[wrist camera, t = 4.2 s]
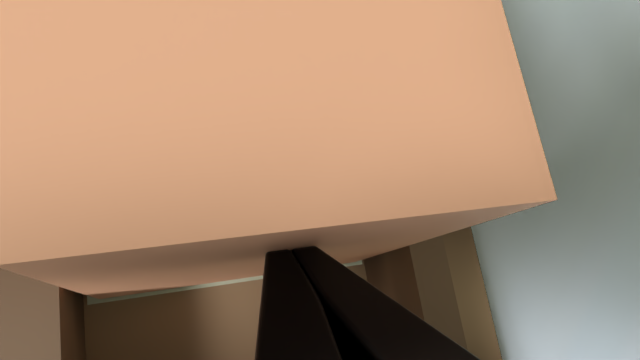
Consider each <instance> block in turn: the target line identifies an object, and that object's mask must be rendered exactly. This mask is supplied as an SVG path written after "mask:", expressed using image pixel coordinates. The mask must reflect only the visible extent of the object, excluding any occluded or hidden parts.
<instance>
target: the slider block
mask: <svg viewBox="0 0 640 360" xmlns="http://www.w3.org/2000/svg"><path fill="white" fill-rule="evenodd" d="M555 200H557V196H556V193H555V189H554V186H553V182H552V179H551V175H550V172H549V168H548V165H547V161H546V157H545V154H544V150H543V147H542V143H541V140H540V136H539V133H538V129H537V126H536V122H535V119H534V115H533V112H532V108H531V105H530V101H529V98H528V94H527V90H526V87H525V83H524V80H523V76H522V73H521V69H520V66H519V62H518V59H517V55H516V52H515V48H514V45H513V41H512V38H511V34H510V31H509V27H508V24H507V20H506V16H505V13H504V9H503V6H502V2H501V0H0V268H1V269H4V270H7V271H11V272H14V273H17V274H20V275H23V276H27V277H30V278H33V279H36V280H39V281H43V282H46V283H49V284H52V285H55V286H59V287H62V288H65V289H68V290H71V291H75V292H78V293H81V294H84V295H87V296H91V297H94V298H97V299H104V298H111V297H118V296H125V295H132V294H138V293H145V292H152V291H159V290H166V289H173V288H180V287H186V286H193V285H200V284H207V283H214V282H221V281H228V280H235V279H241V278H248V277H255V276H262V275H263V274H264V264H265V255H266V253H267V252H270V251H278V250H286V249H288V250H291V251H292V250H293V249H295V248H301V247H309V246H316V247H318V248H319V249H321V250H322V251H324V252H325V253H327V254H328V255H330V256H331V257H332V258H334V259H335V260H337V261H338V262H340V263H341V264H344V263H351V262H357V261H360V260H363V259H366V258H370V257H373V256H376V255H379V254H383V253H386V252H389V251H392V250H396V249H399V248H402V247H406V246H409V245H412V244H415V243H419V242H422V241H425V240H428V239H432V238H435V237H438V236H441V235H445V234H448V233H451V232H454V231H458V230H461V229H464V228H467V227H471V226H474V225H477V224H480V223H484V222H487V221H490V220H493V219H497V218H500V217H503V216H506V215H510V214H513V213H516V212H519V211H523V210H526V209H529V208H532V207H536V206H539V205H542V204H545V203H549V202H552V201H555Z"/></svg>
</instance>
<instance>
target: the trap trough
mask: <svg viewBox="0 0 640 360" xmlns="http://www.w3.org/2000/svg"><path fill="white" fill-rule="evenodd" d="M343 265H344V266H346V267H347V268H348V269H350V270H351V271H353V272H354V273H356V274H357V275H359V276H360V277H362V278H363V279H364V280H366V281H367V282H369V283H370V284H372V285H373V286H375V287H376V288H377V289H379V290H380V291H382V292H383V293H385V294H386V295H388V296H389V297H391V298H392V299H393V300H395V301H396V302H398V303H399V304H401V305H402V306H404V307H405V308H407V309H408V310H409V311H411V312H412V313H414V314H415V315H417V316H418V317H420V318H421V319H422V320H424V321H425V322H427V323H428V324H430V325H431V326H433V327H434V328H436V329H437V330H438V331H440V332H441V333H443V334H444V335H446V336H447V337H449V338H450V339H452V340H453V341H454V342H456V343H457V344H459V345H460V346H462V347H463V348H465V349H466V350H467V351H469V352H470V353H472V354H473V355H475V356H476V357H478V358H479V359H481V360H502V357H501V353H500V348H499V344H498V340H497V336H496V332H495V327H494V323H493V319H492V315H491V310H490V306H489V302H488V298H487V294H486V289H485V285H484V281H483V277H482V272H481V268H480V264H479V260H478V256H477V251H476V247H475V243H474V239H473V234H472V230H471V227H467V228H464V229H461V230H458V231H454V232H451V233H448V234H445V235H441V236H438V237H435V238H432V239H428V240H425V241H422V242H419V243H415V244H412V245H409V246H406V247H402V248H399V249H396V250H392V251H389V252H386V253H383V254H379V255H376V256H373V257H370V258H366V259H363V260H360V261H357V262H351V263H344V264H343ZM262 283H263V275H262V276H255V277H248V278H241V279H235V280H228V281H221V282H214V283H207V284H200V285H193V286H186V287H180V288H173V289H166V290H159V291H152V292H145V293H138V294H132V295H125V296H118V297H111V298H104V299H97V298H94V297H91V296H87V295H84V294H81V293H78V292H75V291H71V290H68V289H65V288H62V287H59V286H55V285H52V284H49V283H46V282H43V281H39V280H36V279H33V278H30V277H27V276H23V275H20V274H17V273H14V272H11V271H7V270H4V269H1V268H0V360H255V351H256V341H257V331H258V322H259V312H260V302H261V293H262Z"/></svg>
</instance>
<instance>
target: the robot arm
mask: <svg viewBox="0 0 640 360" xmlns="http://www.w3.org/2000/svg"><path fill="white" fill-rule="evenodd" d="M255 360H481V359H479V358H478V357H476V356H475V355H473V354H472V353H470V352H469V351H467V350H466V349H465V348H463V347H462V346H460V345H459V344H457V343H456V342H454V341H453V340H452V339H450V338H449V337H447V336H446V335H444V334H443V333H441V332H440V331H438V330H437V329H436V328H434V327H433V326H431V325H430V324H428V323H427V322H425V321H424V320H422V319H421V318H420V317H418V316H417V315H415V314H414V313H412V312H411V311H409V310H408V309H407V308H405V307H404V306H402V305H401V304H399V303H398V302H396V301H395V300H393V299H392V298H391V297H389V296H388V295H386V294H385V293H383V292H382V291H380V290H379V289H377V288H376V287H375V286H373V285H372V284H370V283H369V282H367V281H366V280H364V279H363V278H362V277H360V276H359V275H357V274H356V273H354V272H353V271H351V270H350V269H348V268H347V267H346V266H344V265H343V264H341V263H340V262H338V261H337V260H335V259H334V258H332V257H331V256H330V255H328V254H327V253H325V252H324V251H322V250H321V249H319V248H318V247H316V246H309V247H301V248H295V249H293V250H292V251H291V250H288V249H286V250H278V251H270V252H267V253H266V255H265V264H264V274H263V283H262V293H261V302H260V312H259V322H258V331H257V341H256V351H255Z"/></svg>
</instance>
